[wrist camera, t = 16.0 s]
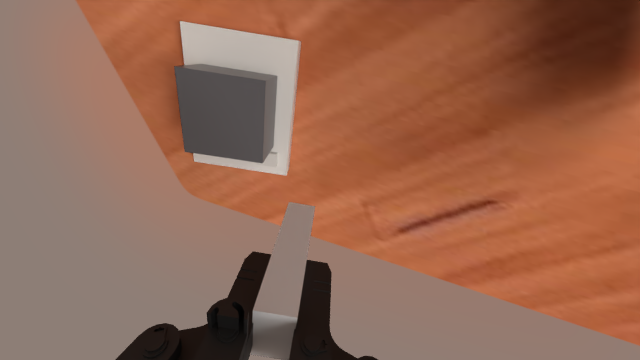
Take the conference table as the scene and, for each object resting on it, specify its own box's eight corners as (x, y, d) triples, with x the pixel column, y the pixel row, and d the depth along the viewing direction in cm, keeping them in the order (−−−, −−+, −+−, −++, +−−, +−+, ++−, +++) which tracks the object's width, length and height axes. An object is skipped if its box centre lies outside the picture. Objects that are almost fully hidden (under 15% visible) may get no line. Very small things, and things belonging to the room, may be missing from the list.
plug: (209, 63, 32) (174, 66, 25) (280, 74, 33) (265, 80, 26) (213, 132, 37) (184, 151, 30) (276, 142, 37) (262, 163, 30)
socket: (190, 23, 31) (175, 20, 28) (301, 41, 31) (297, 40, 28) (202, 155, 39) (191, 163, 36) (289, 168, 40) (285, 177, 37)
